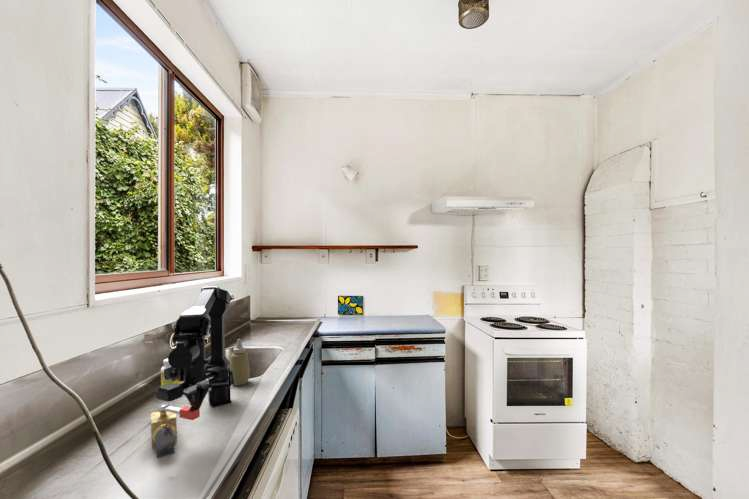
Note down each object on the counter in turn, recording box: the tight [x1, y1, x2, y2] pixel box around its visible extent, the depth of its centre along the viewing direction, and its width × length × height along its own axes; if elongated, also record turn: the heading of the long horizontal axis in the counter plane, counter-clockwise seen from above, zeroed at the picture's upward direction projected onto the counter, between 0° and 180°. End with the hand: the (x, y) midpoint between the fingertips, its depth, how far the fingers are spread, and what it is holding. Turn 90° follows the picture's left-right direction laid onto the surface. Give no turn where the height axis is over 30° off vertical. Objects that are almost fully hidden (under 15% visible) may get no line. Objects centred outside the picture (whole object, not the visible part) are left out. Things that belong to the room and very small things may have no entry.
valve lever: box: [156, 402, 201, 421], centre depth 97 cm, size 14×3×2 cm, turn 68°
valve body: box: [150, 409, 178, 459], centre depth 100 cm, size 6×22×8 cm, turn 34°
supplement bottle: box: [160, 358, 182, 387], centre depth 134 cm, size 7×7×13 cm
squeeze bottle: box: [229, 338, 251, 386], centre depth 142 cm, size 8×8×18 cm
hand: (195, 412), depth 98 cm, fingers closed
